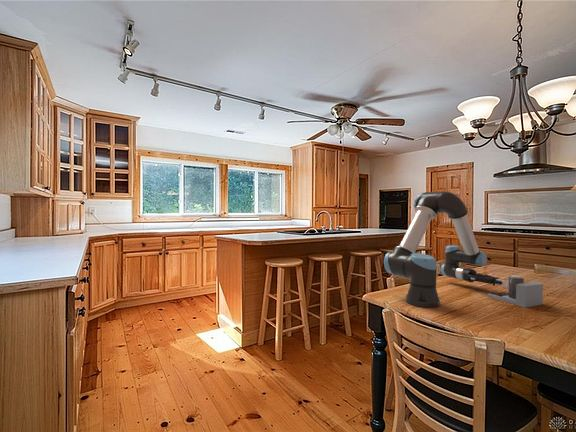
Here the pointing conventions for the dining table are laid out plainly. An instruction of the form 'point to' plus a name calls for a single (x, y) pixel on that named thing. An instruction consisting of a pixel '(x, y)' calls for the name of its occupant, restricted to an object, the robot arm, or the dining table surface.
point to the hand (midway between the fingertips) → (509, 284)
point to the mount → (524, 295)
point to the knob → (513, 286)
